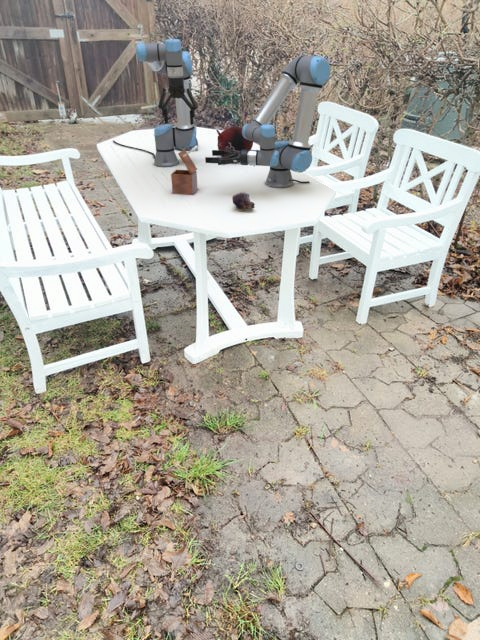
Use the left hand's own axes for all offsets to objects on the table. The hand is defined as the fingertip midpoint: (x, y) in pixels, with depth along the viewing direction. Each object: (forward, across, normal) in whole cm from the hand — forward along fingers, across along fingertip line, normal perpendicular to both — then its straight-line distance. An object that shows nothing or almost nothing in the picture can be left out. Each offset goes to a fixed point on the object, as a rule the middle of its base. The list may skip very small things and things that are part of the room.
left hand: (179, 123), depth 229 cm
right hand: (+15, +15, 0) cm, 21 cm away
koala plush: (+35, -28, +91) cm, 101 cm away
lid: (+19, +3, 0) cm, 19 cm away
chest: (+35, 0, 0) cm, 35 cm away
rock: (+35, +37, -21) cm, 55 cm away
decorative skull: (+35, +14, +69) cm, 78 cm away
